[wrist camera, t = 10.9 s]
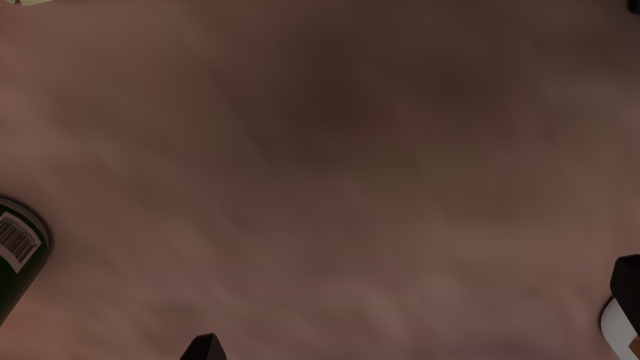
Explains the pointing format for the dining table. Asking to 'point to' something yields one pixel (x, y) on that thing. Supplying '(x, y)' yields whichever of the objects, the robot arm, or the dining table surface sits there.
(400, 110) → the dining table surface
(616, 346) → the milk bottle
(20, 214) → the beer can
